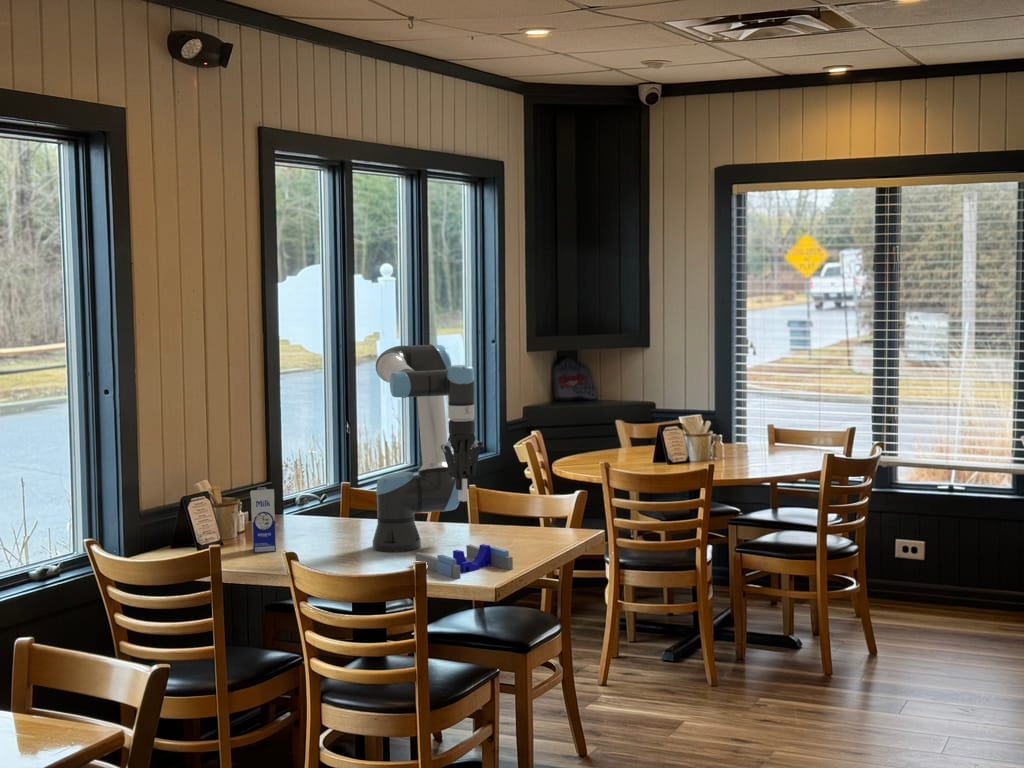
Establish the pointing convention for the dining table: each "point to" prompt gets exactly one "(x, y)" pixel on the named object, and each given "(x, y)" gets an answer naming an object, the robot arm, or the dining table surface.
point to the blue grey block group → (449, 565)
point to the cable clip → (478, 562)
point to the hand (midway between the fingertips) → (462, 500)
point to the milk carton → (263, 520)
